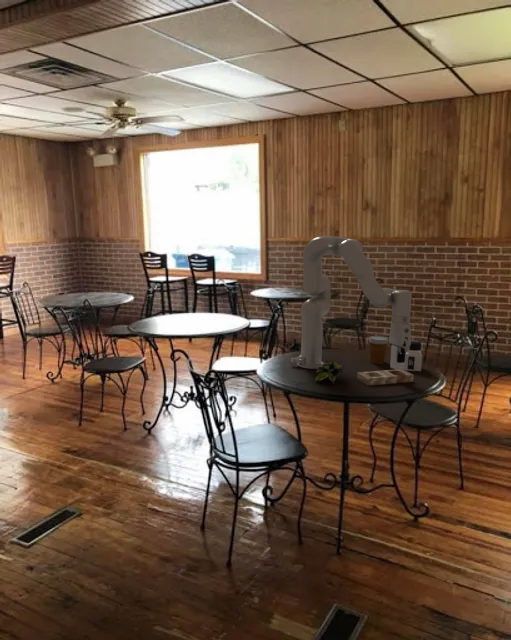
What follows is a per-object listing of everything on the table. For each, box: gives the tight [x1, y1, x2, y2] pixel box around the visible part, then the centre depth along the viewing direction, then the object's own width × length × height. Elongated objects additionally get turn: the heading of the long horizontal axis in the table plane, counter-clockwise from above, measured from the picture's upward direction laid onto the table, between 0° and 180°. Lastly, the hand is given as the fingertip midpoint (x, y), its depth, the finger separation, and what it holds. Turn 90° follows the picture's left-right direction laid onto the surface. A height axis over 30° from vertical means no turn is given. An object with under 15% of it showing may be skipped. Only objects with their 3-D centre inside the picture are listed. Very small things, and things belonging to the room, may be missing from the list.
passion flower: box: [314, 359, 345, 385], centre depth 224 cm, size 11×11×12 cm
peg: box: [389, 344, 406, 370], centre depth 228 cm, size 4×4×10 cm
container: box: [403, 340, 423, 372], centre depth 246 cm, size 8×8×13 cm
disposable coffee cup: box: [368, 335, 389, 365], centre depth 256 cm, size 10×10×12 cm
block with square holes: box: [356, 369, 415, 386], centre depth 228 cm, size 22×9×3 cm, turn 108°
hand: (397, 360), depth 229 cm, fingers closed on peg, 4 cm apart
